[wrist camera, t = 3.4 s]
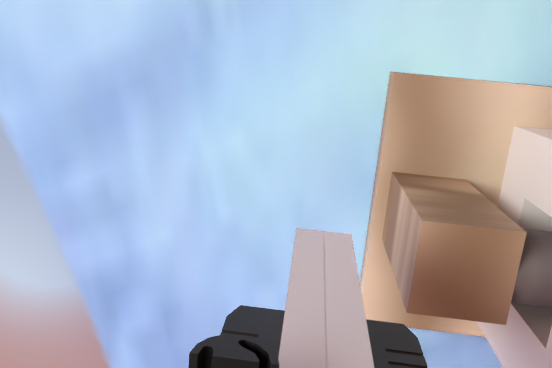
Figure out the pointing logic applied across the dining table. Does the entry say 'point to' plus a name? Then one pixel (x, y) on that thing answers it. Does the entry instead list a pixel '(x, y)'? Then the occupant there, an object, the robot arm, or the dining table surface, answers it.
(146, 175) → the dining table surface
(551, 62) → the dining table surface
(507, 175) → the sleeve
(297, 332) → the robot arm
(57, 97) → the dining table surface
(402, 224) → the rail
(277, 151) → the dining table surface
